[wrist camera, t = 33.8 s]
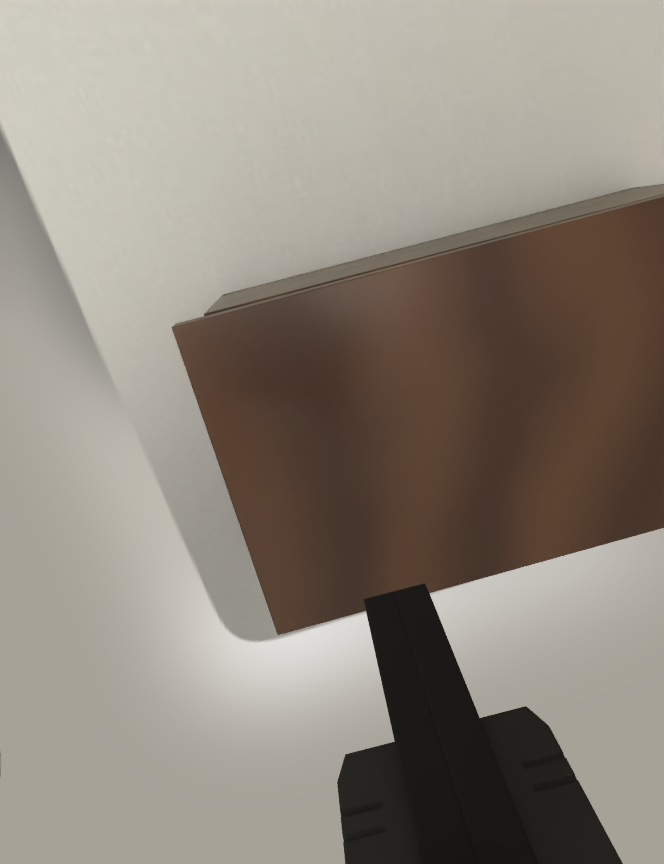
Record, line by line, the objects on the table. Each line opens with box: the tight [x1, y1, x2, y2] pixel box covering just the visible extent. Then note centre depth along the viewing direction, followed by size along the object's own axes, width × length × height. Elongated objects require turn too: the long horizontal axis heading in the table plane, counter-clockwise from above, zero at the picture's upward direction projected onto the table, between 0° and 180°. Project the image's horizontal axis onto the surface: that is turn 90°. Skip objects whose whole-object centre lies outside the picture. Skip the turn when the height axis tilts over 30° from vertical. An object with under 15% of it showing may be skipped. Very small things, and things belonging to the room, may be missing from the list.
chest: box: [204, 184, 664, 316], centre depth 29 cm, size 22×15×7 cm
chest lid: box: [172, 195, 664, 635], centre depth 24 cm, size 23×15×1 cm, turn 104°
